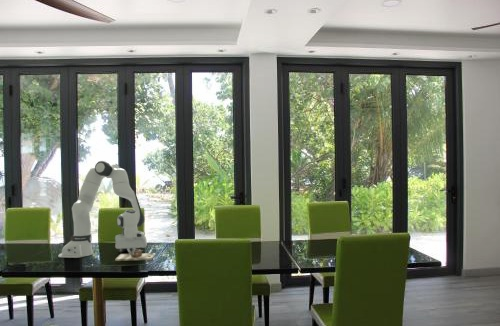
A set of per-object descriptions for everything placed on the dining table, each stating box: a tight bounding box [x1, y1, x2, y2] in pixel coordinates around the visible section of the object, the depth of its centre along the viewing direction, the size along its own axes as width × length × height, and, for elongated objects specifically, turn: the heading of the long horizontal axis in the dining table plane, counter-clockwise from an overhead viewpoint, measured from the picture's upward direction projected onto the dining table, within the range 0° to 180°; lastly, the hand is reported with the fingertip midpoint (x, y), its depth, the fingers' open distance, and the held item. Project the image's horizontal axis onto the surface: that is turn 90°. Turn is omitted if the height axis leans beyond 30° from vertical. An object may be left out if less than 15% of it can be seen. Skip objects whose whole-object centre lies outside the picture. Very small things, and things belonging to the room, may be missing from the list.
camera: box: [117, 228, 145, 254], centre depth 279 cm, size 11×17×20 cm, turn 79°
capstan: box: [130, 249, 143, 258], centre depth 257 cm, size 13×7×4 cm, turn 20°
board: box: [114, 252, 156, 262], centre depth 260 cm, size 24×14×2 cm, turn 95°
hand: (131, 254), depth 254 cm, fingers closed
